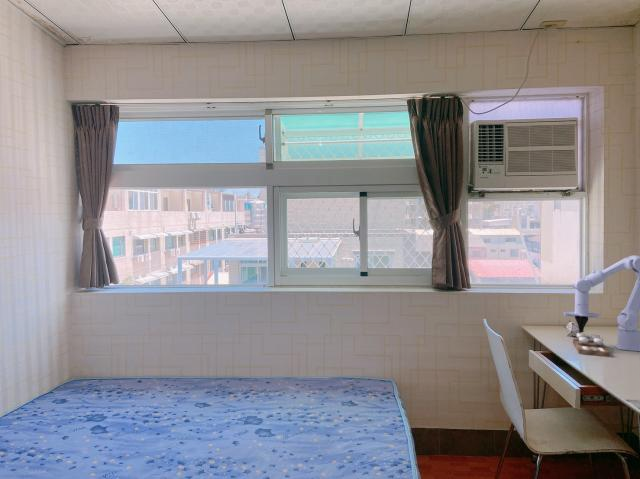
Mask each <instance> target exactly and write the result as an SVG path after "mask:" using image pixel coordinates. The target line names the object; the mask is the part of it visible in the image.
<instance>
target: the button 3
mask: <svg viewBox="0 0 640 479" xmlns="http://www.w3.org/2000/svg"><path fill="white" fill-rule="evenodd" d="M594 343H596V344H604V339H603V338H594Z"/></svg>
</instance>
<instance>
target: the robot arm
mask: <svg viewBox="0 0 640 479" xmlns="http://www.w3.org/2000/svg"><path fill="white" fill-rule="evenodd" d="M622 270H623V271H624V270H633V271H634V273H635V275H636V276H637V278H636V281H635V284H634V286H633V289H632V291H631V294H630V296H629V299H628V301H627V303H626V305H625V308H624V309H622V310H621V312H620V314H618V316H617V317H616V323H617V324H618V327H617V342H616V343H614V346H615V347H616V348H617V349H618V350H623V351H632V352H633V351H634V352H640V330H637V329H638V328H639V318H640V314H639V312H640V256H639V255H637V254H633V255H629V256H627V257H623V258H622V259H621V260H619V261H617V262H614V263H613V264H611V265H610V266H609V267H606V268H605V269H603V270H593V271H591V273H589V274H588V275H586V276H582V277H581V278H578V279H576V280H575V282H574V283H573V288H574V289H575V293H574V311H563V317H574V319H575V321H576V323H577V324H578V327H579V332H581V333H584V332H583V331H585V330H584V329H585V327H586V325H587V323H588V322H589V318H591V319H600V314H599V313H594V312H589V301H590V300H589V298H590V297H589V296H590V294H589V292H590V290H591V288H594V287H596V286H598V285H600V284H601V283H603V282H605V281H606V279H607V278H608V277H609V276H612V275H613V274H616V273H619V272H621V271H622Z"/></svg>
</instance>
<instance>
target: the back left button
mask: <svg viewBox="0 0 640 479" xmlns="http://www.w3.org/2000/svg"><path fill="white" fill-rule="evenodd" d="M579 337H586V333H584V332H581V333H577V336H576V339H579Z"/></svg>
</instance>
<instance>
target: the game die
mask: <svg viewBox="0 0 640 479" xmlns="http://www.w3.org/2000/svg"><path fill="white" fill-rule="evenodd" d="M568 321H569V322H568V324H566V325H565V326H563V328H565V331H566V333H567V337H569V336H572V337H577V333H585V330H583V332H579V327H578V324H577V321H576V322H575V321H571V320H568Z"/></svg>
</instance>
